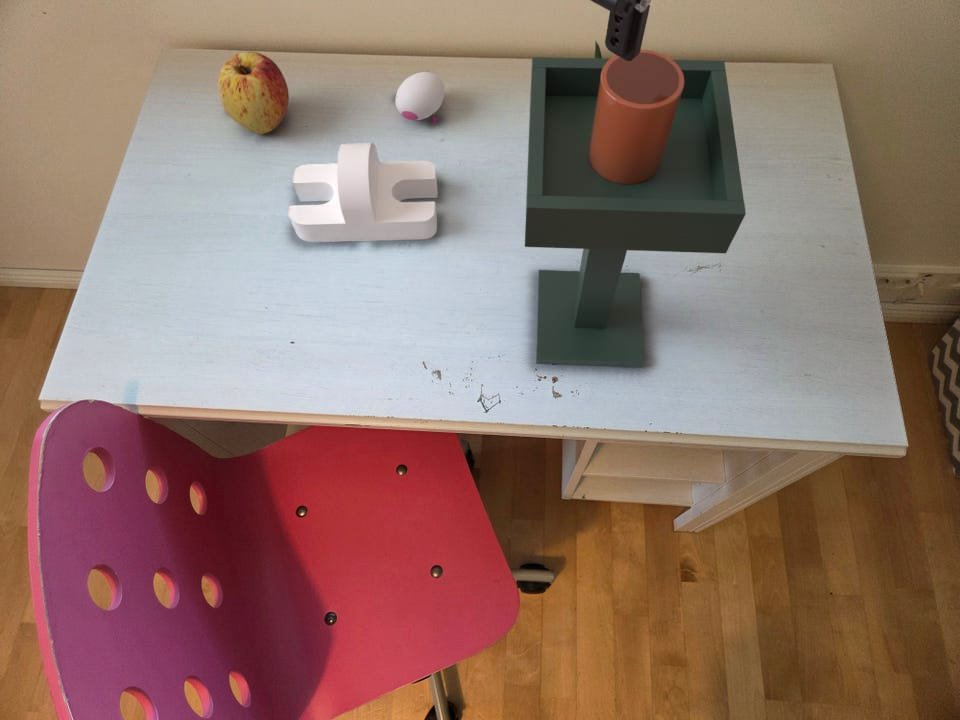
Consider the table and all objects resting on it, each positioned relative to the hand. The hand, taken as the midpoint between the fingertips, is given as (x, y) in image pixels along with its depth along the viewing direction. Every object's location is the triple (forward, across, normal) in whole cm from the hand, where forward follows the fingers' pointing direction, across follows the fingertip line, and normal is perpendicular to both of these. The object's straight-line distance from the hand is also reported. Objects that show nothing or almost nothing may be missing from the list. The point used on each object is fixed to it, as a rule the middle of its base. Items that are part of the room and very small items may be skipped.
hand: (661, 18), depth 45 cm
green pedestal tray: (+40, 0, 0) cm, 40 cm away
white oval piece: (+40, +11, +39) cm, 57 cm away
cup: (+13, 0, 0) cm, 13 cm away
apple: (+40, -5, +54) cm, 67 cm away
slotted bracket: (+40, -6, +32) cm, 52 cm away
